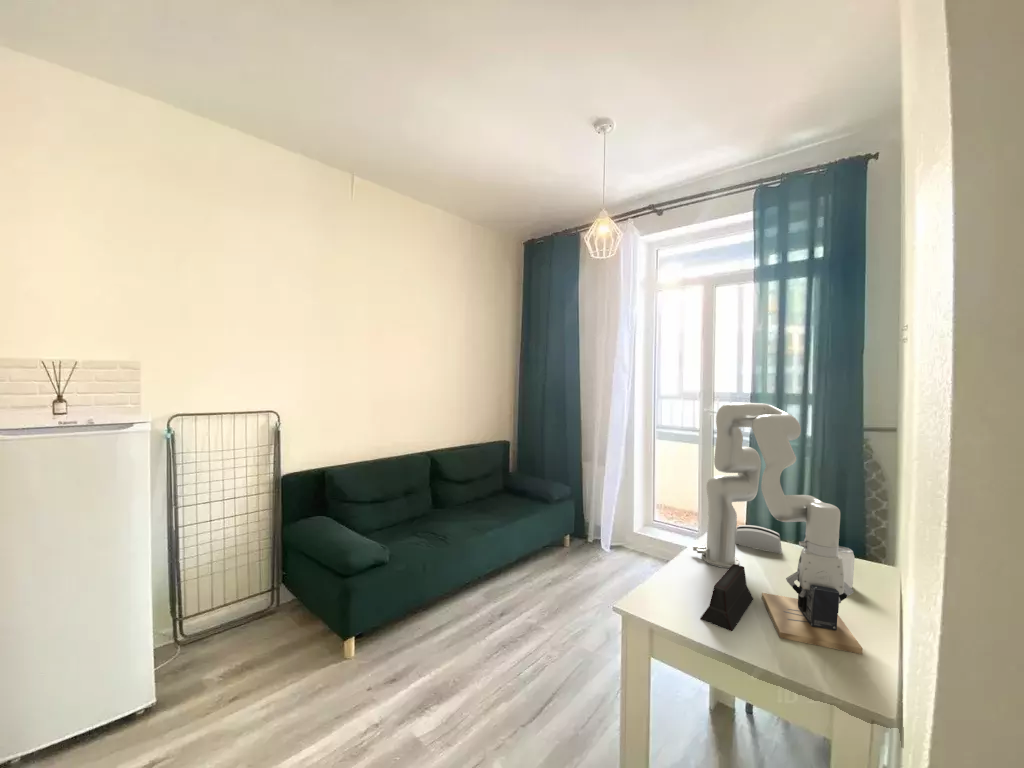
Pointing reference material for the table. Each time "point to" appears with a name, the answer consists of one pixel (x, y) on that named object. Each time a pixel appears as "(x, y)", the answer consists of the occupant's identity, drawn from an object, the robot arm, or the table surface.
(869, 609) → the table surface
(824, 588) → the small box
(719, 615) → the barrier
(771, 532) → the white arched block
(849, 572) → the can
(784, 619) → the board
